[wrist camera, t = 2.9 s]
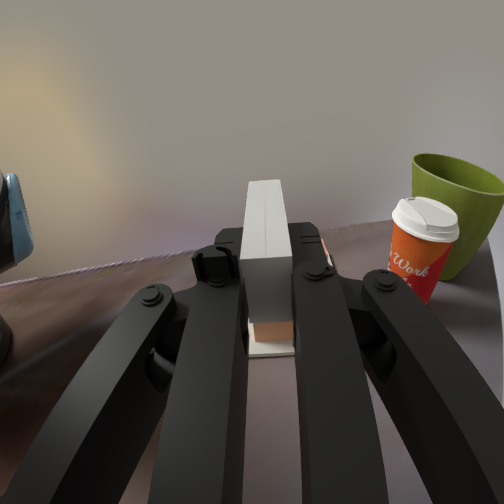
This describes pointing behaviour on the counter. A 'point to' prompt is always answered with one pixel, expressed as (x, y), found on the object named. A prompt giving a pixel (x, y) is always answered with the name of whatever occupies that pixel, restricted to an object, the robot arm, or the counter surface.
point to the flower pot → (460, 201)
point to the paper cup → (421, 242)
